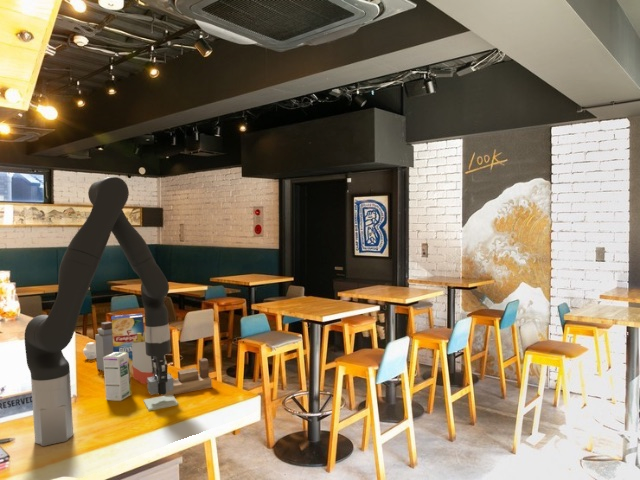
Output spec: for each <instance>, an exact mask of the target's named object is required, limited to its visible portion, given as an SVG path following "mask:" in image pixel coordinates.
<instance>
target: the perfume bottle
mask: <svg viewBox="0 0 640 480" xmlns="http://www.w3.org/2000/svg"><path fill="white" fill-rule="evenodd" d="M100 326H101V327H99V328H97V329H96V330H97V332H98V333H97V334H96V333H95V334H94V340H95V341H94V343H95V345H96V358H95V359H96V369H97V370H99V371H101V370H102V371H101V372H104V362H103V357H105V356H107V355H109V354H112V353H113V334H112V321H103V322H100Z"/></svg>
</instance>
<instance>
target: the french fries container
mask: <svg viewBox="0 0 640 480" xmlns="http://www.w3.org/2000/svg"><path fill="white" fill-rule="evenodd" d="M133 342H134V343H132V356H133V379H135V380H136V381H138V382H139V383H141V384H147V378H148V377H153V375H154V374H153V373H152V363H151V356H148V355H146V347H145V332H144V333H143V336H141V333H137V341H136V340H135V339H134V340H133ZM164 358H165V359H166V355H165V356H164Z"/></svg>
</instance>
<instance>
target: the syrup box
mask: <svg viewBox="0 0 640 480" xmlns="http://www.w3.org/2000/svg"><path fill="white" fill-rule="evenodd" d="M103 362H104V371H103V374H104V388H105V401H115V402H116V401H117V402H122V401H123V400H124V399H126V398H128V397H129V396H132V390H131V389H132V388H131V387H132V385H131V377H130V368H129V354H128V352H113V353H112V354H109V355H107V356H105V357H103Z"/></svg>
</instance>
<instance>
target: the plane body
mask: <svg viewBox="0 0 640 480" xmlns="http://www.w3.org/2000/svg"><path fill="white" fill-rule="evenodd" d="M198 368H199V370H198V369H197V368H196V367H193V368H188V369H182V370H177V378H173V388H174V390H173V391H168V392H166V394H164V395H162V396H166V395H171V394H172V395H173V396H174V394H175V395H179V393H180V394H183V393H184V394H185V393H190V392H195V391H200V390H205V389H210V388H212V386H213V385H212V378H211V377H210V375H209V373H210V372H209V359H207V358H205V357H202V358H199V359H198ZM167 374H170V375H171V376H172V373H169V372H167Z"/></svg>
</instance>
